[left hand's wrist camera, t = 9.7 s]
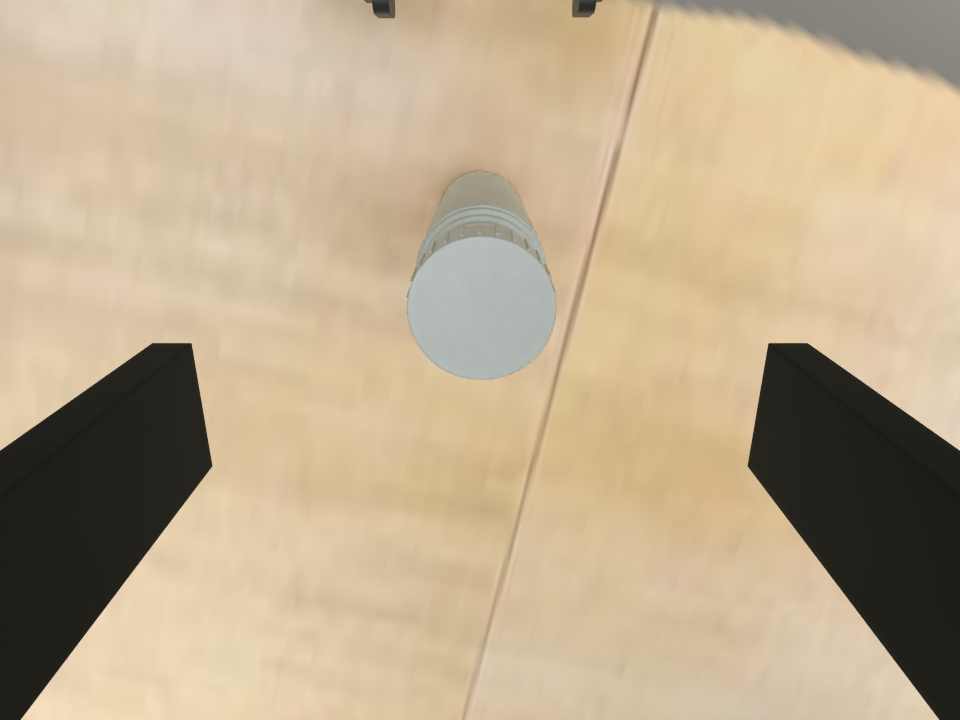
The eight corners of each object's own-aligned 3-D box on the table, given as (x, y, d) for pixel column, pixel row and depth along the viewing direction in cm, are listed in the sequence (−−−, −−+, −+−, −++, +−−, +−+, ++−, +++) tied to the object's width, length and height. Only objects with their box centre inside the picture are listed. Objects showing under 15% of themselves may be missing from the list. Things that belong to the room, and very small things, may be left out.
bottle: (488, 153, 36) (496, 192, 18) (538, 221, 37) (592, 320, 19) (422, 206, 37) (368, 294, 19) (474, 271, 38) (469, 408, 21)
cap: (493, 192, 20) (495, 201, 18) (578, 303, 21) (588, 323, 19) (383, 280, 21) (373, 298, 19) (470, 382, 22) (469, 408, 20)
